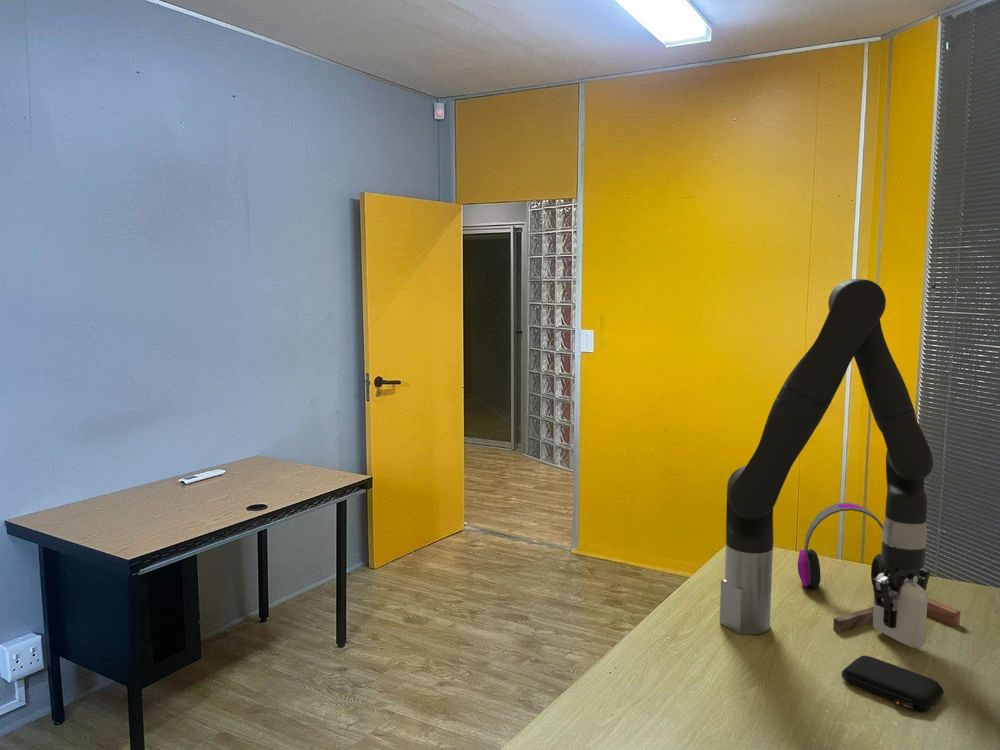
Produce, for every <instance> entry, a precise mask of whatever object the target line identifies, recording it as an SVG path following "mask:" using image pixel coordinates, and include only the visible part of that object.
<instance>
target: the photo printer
mask: <svg viewBox="0 0 1000 750" xmlns="http://www.w3.org/2000/svg"><path fill="white" fill-rule="evenodd" d="M883 574H884V573H880V574H879V575H878V576H877V577H876V579H881V578H882V577H883ZM889 592H891V593H893V594H897V592H895V591H892V590H890V589H889ZM928 598H929V597H928V593H927V590H926V591H925V590H924V589H923V588H922V587H920V586H919V585H918V584H916V583H915V582H913V581H912V580H910V579H908V583H907V584H906V585H905V586H903V588H902V591H901V599H900V600H898V606H897V619H896V628H893V629H892V628H889V627H887V626H885V625H884V622H883V617H884V608H883V607H880V606H878V605H876V602H875V596H874V595H873V606H872V607H873V623H872V626H873V627H872V628H874V629H876V631H879V632H881V633H882V634H884V635H886V636H888V637H890V638H892V639H894V640H895V641H897V642H900V643H901V644H904V645H906V646H908V647H910V648H914V649H918V648H922V647H924V645H925V643H926V631H927V600H928ZM881 599H882V598H881ZM882 600H883V599H882ZM892 601H893V598H892V597H890V603H892Z"/></svg>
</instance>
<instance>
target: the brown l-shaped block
mask: <svg viewBox="0 0 1000 750" xmlns="http://www.w3.org/2000/svg"><path fill="white" fill-rule="evenodd" d="M873 607H874V606H871V607H868V608H864V609H861V610H857V611H854V612H851V613H847V614H845V615H841V616H837V617H834V618H833V626H832V627H833V629H832V630H833V631H834V630H835V632H836V633H838V634H840V633H845V632H848V631H851V630H854V629H857V628H861V627H863V626H867V625H870V624H873ZM927 616H928V617H929V618H932V619H935V620H937V621H939V622H941V623H944V624H946V625H949V626H951V627H957V626H960V623H961V610H960V609H957V608H955V607H952V606H950V605H947V604H944V603H943V602H939V601H937V600H934V599H932V598H930V597H928V600H927ZM847 630H848V631H847Z"/></svg>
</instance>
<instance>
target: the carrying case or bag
mask: <svg viewBox="0 0 1000 750" xmlns="http://www.w3.org/2000/svg"><path fill="white" fill-rule="evenodd" d="M841 677H842V679H843V680H844V681H845V683H846V684H847V685H850V686H852V687H854V688H857V689H858V690H862V691H865V692H867V693H869V694H872V695H874V696H877V697H879V698H882V699H884V700H886V701H889V702H892V703H893V704H895V706H898V707H902V708H906V709H910V710H912V711H914V712H920V713H925V712H927V711H928V710H930V709H932V707H933V706H934V705H935V704H936V703H937V702H938V701H939V700H940V699H941V698H942V697H943V695H944V694H945V693H944V688H943V687H942V685H941V684H940V682H938V681H937V680H935V679H933V678H931V677H928V676H925V675H922V674H920V673H918V672H915V671H912V670H909V669H906V668H903V667H902V666H899V665H895V664H893V663H889V662H888V661H884V660H881V659H878V658H875V657H873V656H869V655H861V656H859V657H857V658H856V659H854V660H853V661H852V662H851V663H850V664H849V665H847V666H846V667H845V668H844V669H843V670H842V671H841Z"/></svg>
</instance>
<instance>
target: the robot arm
mask: <svg viewBox="0 0 1000 750" xmlns="http://www.w3.org/2000/svg"><path fill="white" fill-rule="evenodd" d="M886 302H887V300H886V295H885V292H884V290H883V289H882V286H881V287H880V285H879V284H878V283H876V282H874V281H872V280H869V279H865V278H862V279H861V278H852V279H847V280H844V281H841V282H840V283H838V284H837V285H836V286H835V287H834V288H833V289H832V291H831V292H830V294H829V297H828V310H829V311H828V314H827V316H826V319H825V320H824V323H823V324H822V325H823V326H822V327H821V329H820V331H819V333H818V336H817V337H816V339H815V341H813V344H812V345H811V347H810V348H809V349H807V352H806V353H805V354H804V355H803V356H802V358H801V359H799V361H798V362H797V364H796V365H795V366H794V367H793V369H792V370H791V372H790V373H789V374H788V376H787V378H786V379H785V380H784V383H783V384H782V386H781V388H780V389H779V392H778V393H777V395H776V397H775V399H774V401H773V404H772V406H771V408H770V410H769V413H768V416H767V418H766V421H765V424H764V428H763V431H762V433H761V437H760V440H759V443H758V445H757V447H756V449H755V451H754V452H753V455H752V456H751V458H750V459H749V461H748V463H747V464H746V465H744V466H741V467H738V468H737V469H735V470H734V471H733V472H732V473H731V474H730V476H729V478H728V481H727V485H726V509H725V510H726V513H725V515H726V517H725V555H724V556H725V558H724V560H725V561H724V578H723V579H721V580H720V597H719V598H720V601H719V603H720V604H719V623H720V624H721V625H723V626H725V627H727V628H728V629H730V630H731V631H733V632H735V633H737V634H738V635H759V634H764V633H767V632H768V631H769V630H770V629H771V628H770V627H771V609H772V608H771V607H772V605H771V604H772V603H771V602H772V581H773V576H772V575H773V556H774V554H773V553H774V507H775V506H776V503H777V500H778V498H779V495H780V493H781V491H782V488H783V487H784V484H785V482H786V479H787V477H788V474H789V473H790V471H791V468H792V467H793V464H794V463H795V462H796V460H797V458H798V457H799V455H800V454H801V453H802V451H803V450H804V448H805V446H806V445H807V444H808V442H809V440H810V438H811V437H812V435H813V434H814V432H815V430H816V429H817V428H818V426H819V424H820V423H821V421H822V419H823V417H824V416H825V414H826V413H827V410H828V408H829V407H830V405H831V403H832V401H833V399H834V397H835V395H836V393H837V391H838V390H839V387H840V385H841V383H842V381H843V380H844V377H845V376H846V372H847V371H848V368H849V367H850V364H851V361H852V360H853V358H854V361H855V363H856V366H857V369H858V372H859V375H860V379H861V382H862V386H863V389H864V391H865V395H866V398H867V401H868V404H869V407H870V410H871V412H872V413H871V414H872V415H873V419H874V421H875V424H876V426H877V427H878V430H879V431H880V433H881V434H882V437H883V440H884V443H885V446H886V449H887V450H886V453H885V454H886V455H885V476H886V487H887V488H886V497H885V498H886V499H885V510H884V511H885V513H884V521H883V524H882V525H883V531H882V534H881V535H882V536H881V549H880V551H881V553H880V554H881V560H882V562H883V563H884V564H885V566H886V568H885V572H884V574H883V577H882V578H881V579H876V578H874V579H873V581H872V580H871V584H872V583H873V585H872V588H873V597H874V596H875V602H876V605H878V606H880V607H883V608H884V617H883V622H884V625H885V626H887V627H889V628H892V629H893V628H896V619H897V606H898V600H900V599H901V591H902V588H903V586H905V585H906V584H907V583H908V579H910V580H912V581H913V582H915V583H916V584H918V585H919V586H920V587H922V588H923V589H924V590H925V591H926V592H927V586H928V582H929V579H930V574H931V572H930V571H929V570H927V569H924V567H925V563H926V552H927V551H926V550H927V549H926V548H927V534H928V533H927V515H928V496H927V494H926V491H925V478H927V477H928V476H929V475H930V473H932V470H933V467H934V457H933V453H932V451H931V448H930V446H929V443H928V442H927V441H928V440H927V439H926V436H925V435H924V433H923V431H922V428H921V427H920V424H919V421H918V419H917V416H916V411H915V408H914V405H913V403H912V399H911V396H910V393H909V391H908V387H907V385H906V383H905V380H904V378H903V376H902V374H901V371H900V370H899V367H898V365H897V363H896V362H895V360H894V358H893V356H892V353H891V352H890V349H889V347H888V344H887V341H886V339H885V335H884V333H883V329H882V328H883V327H882V323H881V318H882V316H883V314H884V313H885V311H886V306H887V303H886ZM889 589H890V590H892V591H895V592H897V594H893V593H891V592H889ZM890 597H892V598H893V601H892V603H890ZM881 598H882V599H883V600H882V599H881Z"/></svg>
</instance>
